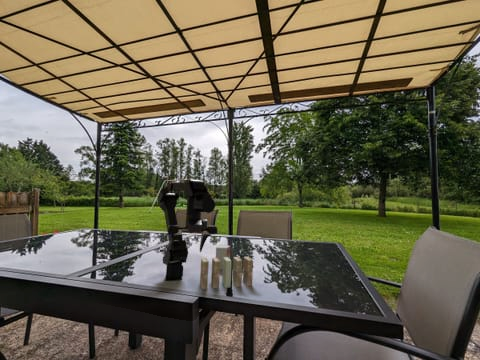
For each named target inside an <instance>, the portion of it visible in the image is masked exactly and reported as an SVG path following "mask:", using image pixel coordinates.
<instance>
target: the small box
mask: <svg viewBox="0 0 480 360" xmlns="http://www.w3.org/2000/svg"><path fill="white" fill-rule="evenodd" d="M223 257H228V258H229V259H230V260H231V245H226V244H224V245H223V244H220V245H219V246H216V247H215V258H218V259H219V260H220V271H223Z"/></svg>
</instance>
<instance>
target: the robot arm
mask: <svg viewBox="0 0 480 360" xmlns="http://www.w3.org/2000/svg"><path fill="white" fill-rule="evenodd" d="M171 192H175V193H171ZM180 192H183V193H185V194H187V196H186V197H184V199H185V200H186V209H185V210H186V214H185V226H179V223H178V220H177V219H178V217H177V213H176V206H177V205H178V200H179V199H180ZM156 201H157V203H158V207H159V208H160V210H161V211H163V213H164V214H163V215H164V219H165V225H166V231H167V236H168V243H167V246H166V251H165V253H164V254H163V257H162V264H164V265H166V270H165V271H166V272H165V277H164V278H165V281H179V280H182V277H184V265H183V263H185V264H186V263H187V259H188V255H189V250H188V249H189V248H188V245H187V240H186V239H183V232H184V233H190V234H193V233H197V234H201V236H200V242H199V243H200V244H199V252H200V253H202V252H203V248H204V245H205V243H206V241H207V239H208V238H209V237H211V236H212V235H217V234H218V227H217V226H216V225H208V219H207V218H206V219H205V218H203V219H202V213H204V214H206V213H207V214H210V213H212V212H213V211H215V208H216V202H215V199H214V198H212V194H210V192H209V191H208V189H207V186H206V184H205V181H204V180H201V179H199V180H198V179H190V178H188V179H186V180H184V182H181V181H180V182H176V181H170V182H168V183H167V185H166V186H165V187H163V188H162V189H161V190H160V191H159V193H158V196H157V199H156Z"/></svg>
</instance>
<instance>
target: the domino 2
mask: <svg viewBox="0 0 480 360" xmlns="http://www.w3.org/2000/svg"><path fill="white" fill-rule="evenodd" d="M211 261H212V262H211V277H210V284H211V286H212V287H213V289H214V290H215V289H219V288H220V272H221V270H220V260H219V259H218V258H216V257H212V259H211Z"/></svg>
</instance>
